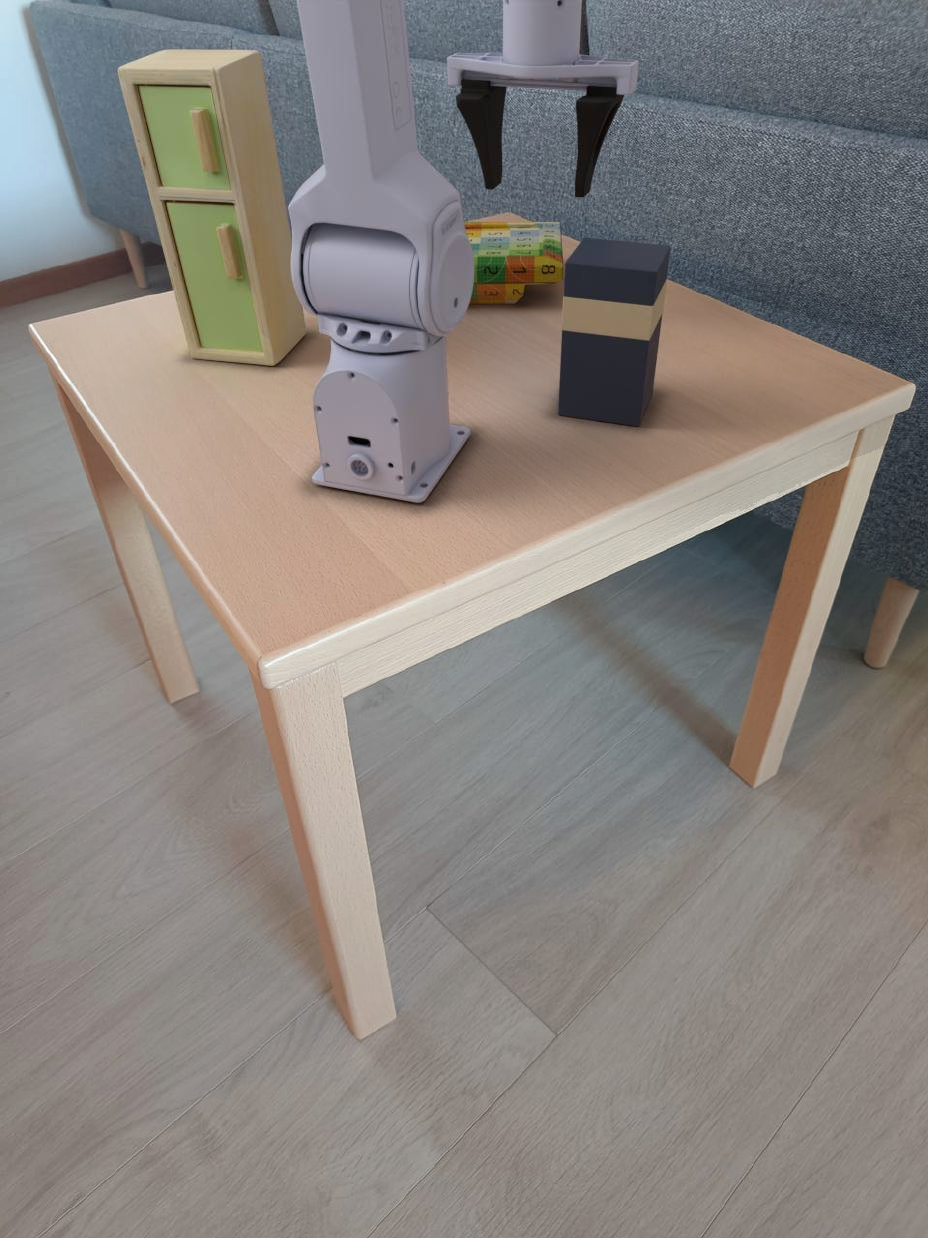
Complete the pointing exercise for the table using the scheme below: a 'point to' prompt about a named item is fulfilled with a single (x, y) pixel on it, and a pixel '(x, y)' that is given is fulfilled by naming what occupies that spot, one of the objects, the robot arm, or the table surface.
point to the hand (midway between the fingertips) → (537, 189)
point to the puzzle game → (513, 258)
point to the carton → (611, 329)
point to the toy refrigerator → (217, 199)
